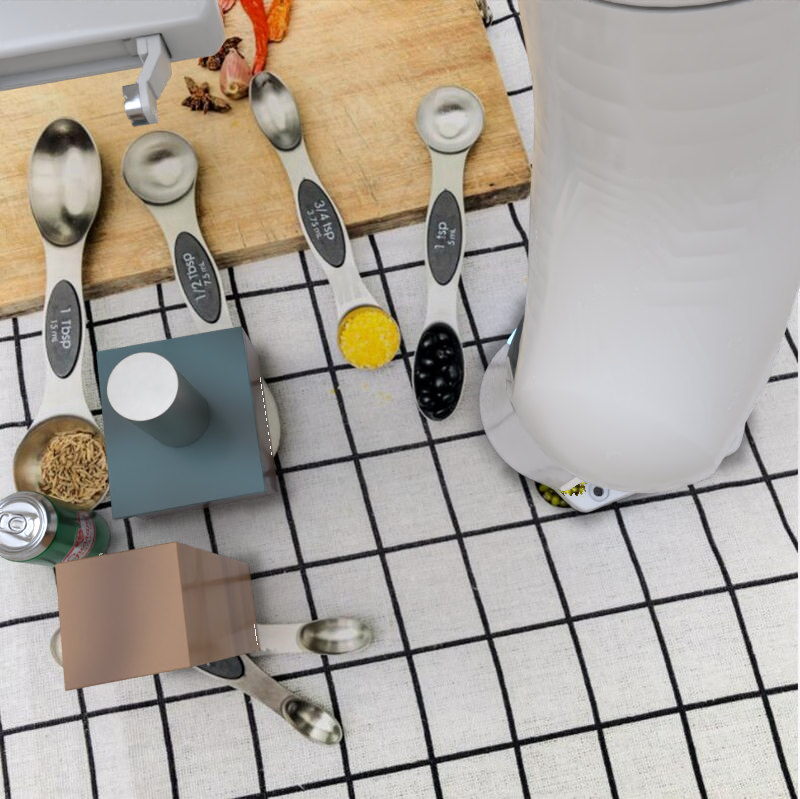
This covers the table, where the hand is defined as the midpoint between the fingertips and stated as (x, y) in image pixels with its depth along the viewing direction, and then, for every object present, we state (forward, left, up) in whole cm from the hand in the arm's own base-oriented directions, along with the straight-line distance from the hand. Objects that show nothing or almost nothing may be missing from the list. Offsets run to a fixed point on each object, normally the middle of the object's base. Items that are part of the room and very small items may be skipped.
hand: (61, 133), depth 48 cm
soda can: (+11, +19, -28) cm, 35 cm away
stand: (+1, +27, -28) cm, 39 cm away
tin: (0, +12, -20) cm, 23 cm away
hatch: (0, +13, -21) cm, 24 cm away
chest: (0, +12, -28) cm, 30 cm away
